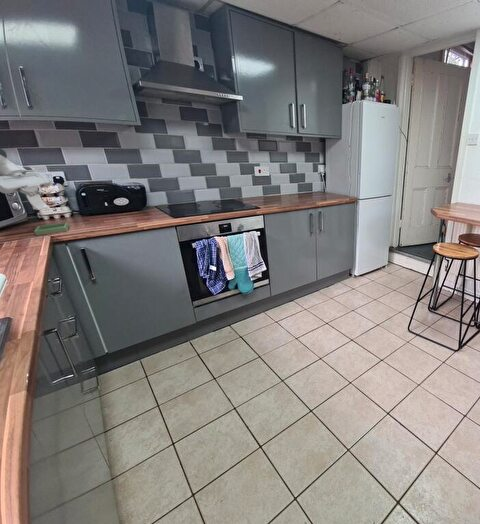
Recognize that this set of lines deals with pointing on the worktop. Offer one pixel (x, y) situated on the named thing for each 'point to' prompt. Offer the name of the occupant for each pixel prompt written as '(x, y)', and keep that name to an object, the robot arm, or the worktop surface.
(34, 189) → the light grey curved piece
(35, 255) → the worktop surface
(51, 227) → the tray
